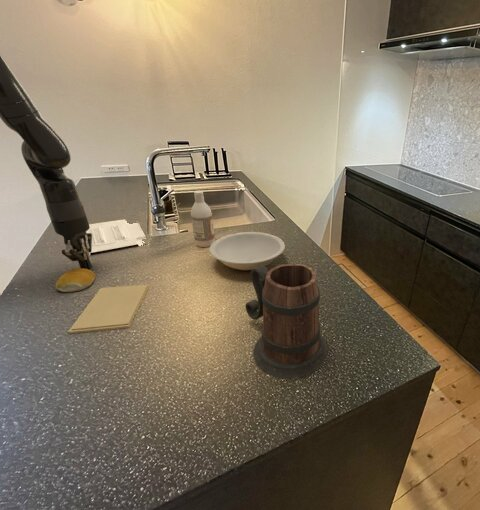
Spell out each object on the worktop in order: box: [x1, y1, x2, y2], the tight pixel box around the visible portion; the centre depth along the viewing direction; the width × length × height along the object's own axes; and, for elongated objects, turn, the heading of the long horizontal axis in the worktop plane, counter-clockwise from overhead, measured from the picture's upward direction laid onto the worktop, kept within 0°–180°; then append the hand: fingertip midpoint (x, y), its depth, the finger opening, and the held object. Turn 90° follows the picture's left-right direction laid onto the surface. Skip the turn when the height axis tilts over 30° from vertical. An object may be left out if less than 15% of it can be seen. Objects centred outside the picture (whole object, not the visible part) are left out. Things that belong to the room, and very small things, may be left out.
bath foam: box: [190, 190, 216, 248], centre depth 110 cm, size 7×7×20 cm
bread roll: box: [55, 267, 96, 293], centre depth 85 cm, size 8×9×4 cm
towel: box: [67, 284, 150, 335], centre depth 78 cm, size 12×18×1 cm, turn 15°
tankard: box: [245, 263, 329, 380], centre depth 68 cm, size 24×17×20 cm
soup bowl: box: [209, 231, 286, 271], centre depth 103 cm, size 24×24×7 cm
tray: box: [86, 219, 150, 255], centre depth 114 cm, size 20×28×4 cm
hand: (86, 269), depth 91 cm, fingers closed
